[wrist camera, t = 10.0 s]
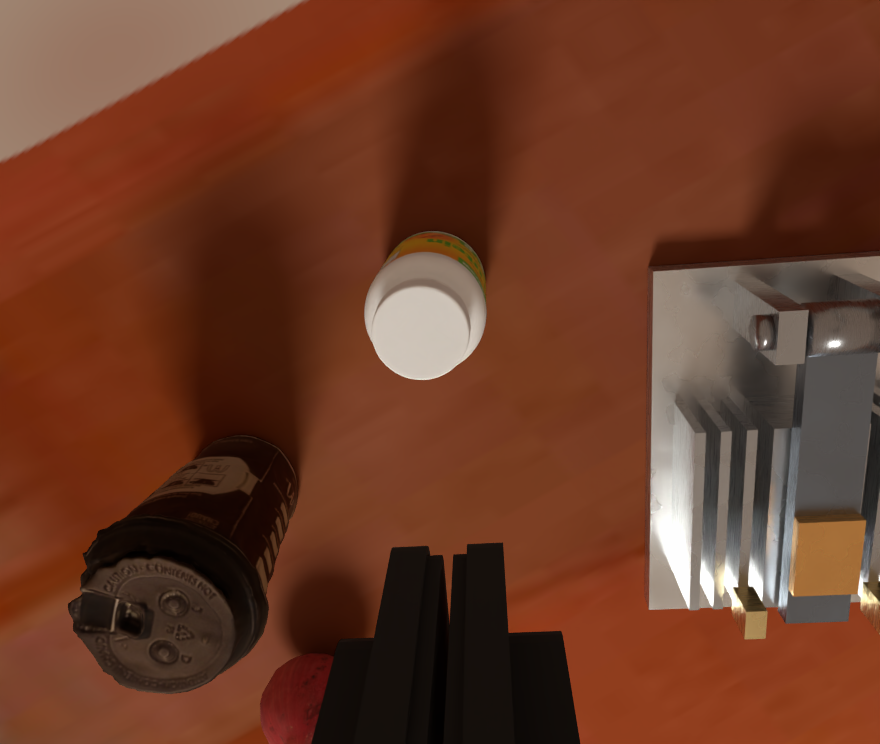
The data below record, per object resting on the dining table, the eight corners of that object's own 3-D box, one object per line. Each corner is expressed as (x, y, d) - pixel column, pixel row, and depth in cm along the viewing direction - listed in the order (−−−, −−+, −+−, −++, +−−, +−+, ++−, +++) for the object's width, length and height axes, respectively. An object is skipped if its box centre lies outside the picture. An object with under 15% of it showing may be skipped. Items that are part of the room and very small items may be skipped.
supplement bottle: (506, 268, 39) (515, 317, 30) (447, 350, 40) (439, 420, 31) (419, 208, 38) (400, 240, 29) (363, 294, 40) (328, 350, 30)
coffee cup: (141, 460, 43) (9, 599, 31) (250, 385, 42) (156, 501, 29) (237, 568, 46) (149, 738, 33) (345, 502, 44) (294, 655, 32)
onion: (327, 608, 46) (298, 706, 39) (388, 669, 48) (371, 774, 40) (259, 655, 48) (219, 758, 40) (320, 713, 49) (292, 823, 41)
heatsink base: (648, 266, 38) (685, 301, 32) (933, 247, 37) (1036, 278, 31) (644, 597, 45) (675, 685, 38) (887, 587, 44) (963, 676, 37)
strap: (795, 297, 34) (817, 310, 31) (864, 292, 34) (892, 305, 31) (772, 602, 39) (791, 632, 37) (832, 600, 39) (854, 630, 36)
